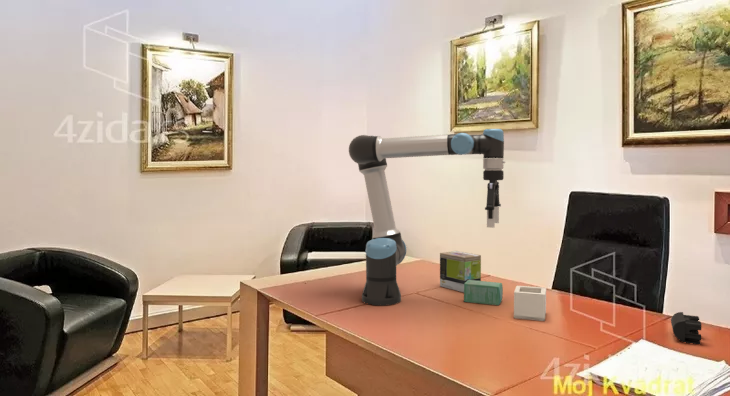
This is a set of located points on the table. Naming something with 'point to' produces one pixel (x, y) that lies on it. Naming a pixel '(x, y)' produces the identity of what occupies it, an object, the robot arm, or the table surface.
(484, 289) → the box
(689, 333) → the end cap
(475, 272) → the tea box
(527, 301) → the tub
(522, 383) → the table surface
